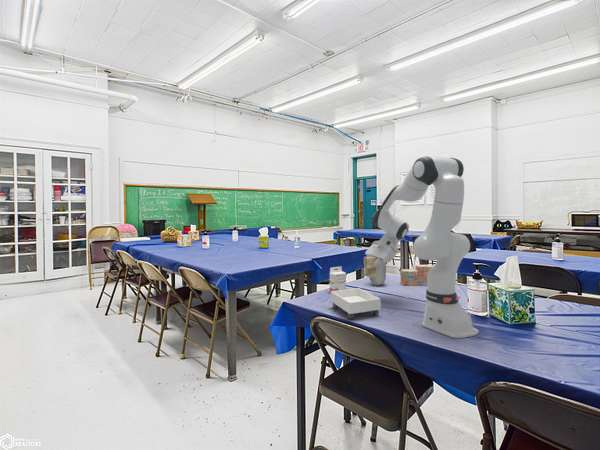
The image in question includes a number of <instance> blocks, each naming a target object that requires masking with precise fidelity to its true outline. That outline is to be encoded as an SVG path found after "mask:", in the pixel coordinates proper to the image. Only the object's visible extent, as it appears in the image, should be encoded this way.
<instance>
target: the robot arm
mask: <svg viewBox="0 0 600 450" xmlns="http://www.w3.org/2000/svg"><path fill="white" fill-rule="evenodd" d="M464 168H465V167H464V164H463V162H462V161H461V160H460V159H458V158H454V157H446V156H439V155H437V156H434V155H433V156H422V157H419V158H417V159H416V160H415V161H414V163H413V165H412V166H411V168H410V169H409V170H408V172H407V174H406V176H405V178H404V179H403V182H402V183H401V184H400V185H395V186H394V187H393V188H392V189H391V190H390V192H389V193H388V194H387V196H386V197H385V198H384V201H383V202H381V205H380V206H379V208H378V209H377V210H376V211H375V212H374V214H373V216H372V218H371V219H372V220H371V221H372V224H373V226H374V227H377V228H378V229H380V230H382V231H383V232H385V234H383V235H382V236H381V238H380V239H379V240H377V241H378V243H376V244H373V245H372V244H371V246H370V247H369V246H368V248H367V249H366V251H365V253H364V255H366V257H367V256H372V257H376V261H375V262H373V263H372V265H373V266H374V267H376V266H377V264H379V263H381V262H382V261H383V262H386V264H387V263H388V264H389V263H390V262H391V261H393V259H395V257H396V255H397V254H398V253H399V252H400V249H399V248H398V247H397V246H398V245H399V243H400V242H401V241H402V240H404V238H405V237H406V235H407V234H408V231H409V229H410V225H409V223H408V221H406V220H405V219H403V218H400V217H398V216H396V215H394V214H393V213H391V212H390V210H389V209H390V208H391V207H392V205H393V204H394V202H395V201H402V202H411V203H412V202H416V201H420V200H421V199H422V198H423V197H424V195H426V194H425V193H426V192H427V190H428V188H429V186H431V185H433V186H434V188H435V190H434V191H435V192H434V199H433V205H432V211H431V217H430V220H429V222H428V225H427V226H426V228H425V229H424V231H423V232H422V233H421V234H420V235H419V236H418V237H416V238H415V240H414V242H413V245H412V248H413V252H414V254H415V256H416V257H417V258H418V260H422V261H435V263H434V264H433V265H434V266H433V267H432V268H431V269H430V270H429V272H428V275H427V286H426V288H427V289H426V291H425V298H426V302H425V307H424V311H423V312H424V314H423V318H422V322H421V326H422V327H424V328H426V329H429V330H432V331H434V332H437V333H440V334H442V335H445V336H447V337H450V338H455V339H459V338H460V339H462V338H469V337H474V336H476V335H478V334H479V332H480V330H478V329H477V328H476V327H474V326H473V322H472V318H471V316H470V314H469V313H468V311H466V310H465V308H464V307H463V306H462V305H461V304H460V302H459V301H460V300H459V299H461V296H458V294H457V292H456V279H457V278H456V277H457V274H458V273H457V272H458V269H459V266H460V265H461V262H462V261H463V258H464V257H465V256H466V255H468V254H469V252H470V249H471V242H470V240H469V238H468V237H467V236H466V235H464V234H461V233H456V232H452V230H453V229H454V228H455V227H456V226H458V225H459V224H460V223H461V222H460V221H461V219H462V212H463V206H464V200H465V181H464V178H462V176H463V174H464V172H465V171H464V170H465V169H464Z"/></svg>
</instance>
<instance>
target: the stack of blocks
mask: <svg viewBox="0 0 600 450" xmlns="http://www.w3.org/2000/svg"><path fill="white" fill-rule="evenodd" d="M434 265H435V264H415V266H414V267H415V268H414V269H413V268H412V269H411V268H410V269H407V268H404V269H400V284H401V285H402V286H404V287H407V286H408V287H427V275H428V272H429V270H430V269H431V268H432V267H433V266H434Z"/></svg>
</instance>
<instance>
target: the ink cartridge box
mask: <svg viewBox="0 0 600 450" xmlns="http://www.w3.org/2000/svg"><path fill="white" fill-rule="evenodd" d="M342 268H343V266H342V265H341V266H334V267H330V268H329V293H331V291H339V290H347V272H345V271H343V269H342Z"/></svg>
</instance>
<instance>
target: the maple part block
mask: <svg viewBox="0 0 600 450" xmlns="http://www.w3.org/2000/svg"><path fill="white" fill-rule="evenodd" d="M375 261H376V257H372V256H367V255H366V256H363V276H364V277H367V278H370V277H375V276H376V267H374V266H373V265H372V263H373V262H375Z"/></svg>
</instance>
